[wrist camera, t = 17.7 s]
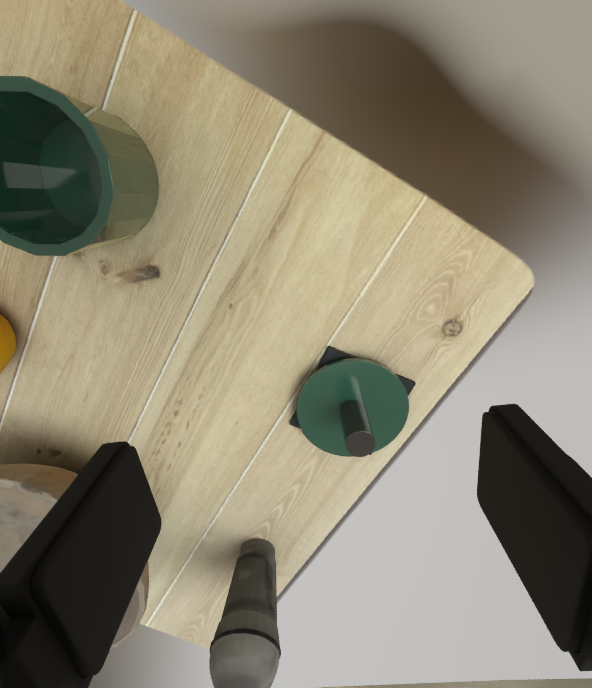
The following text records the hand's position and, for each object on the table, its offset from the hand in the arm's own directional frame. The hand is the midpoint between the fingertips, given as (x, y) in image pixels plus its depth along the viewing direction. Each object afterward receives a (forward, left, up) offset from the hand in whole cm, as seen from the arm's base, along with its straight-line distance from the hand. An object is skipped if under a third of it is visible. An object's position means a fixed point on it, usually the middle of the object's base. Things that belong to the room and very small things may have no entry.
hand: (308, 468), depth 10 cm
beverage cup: (-9, +36, -27) cm, 46 cm away
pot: (+20, 0, -27) cm, 33 cm away
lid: (-10, +11, -26) cm, 30 cm away
